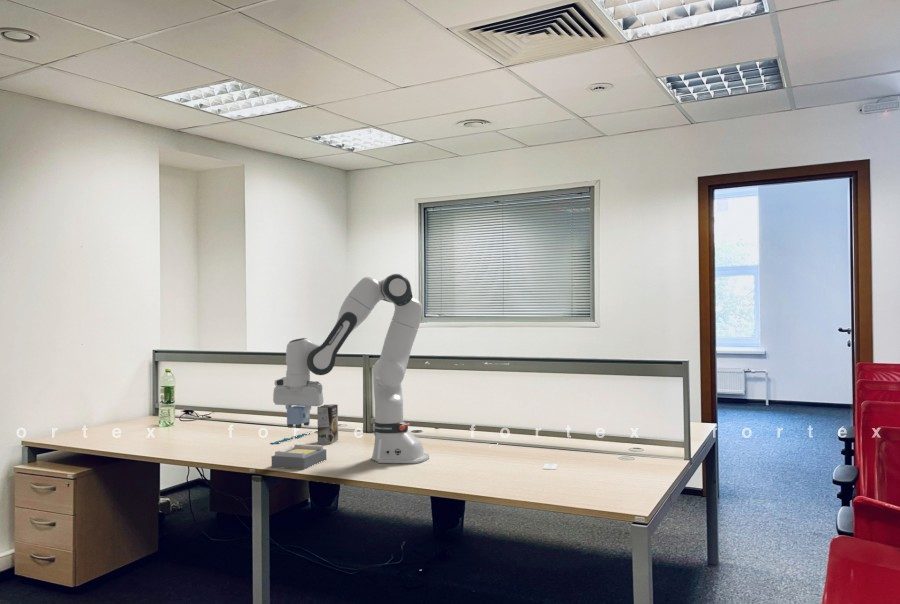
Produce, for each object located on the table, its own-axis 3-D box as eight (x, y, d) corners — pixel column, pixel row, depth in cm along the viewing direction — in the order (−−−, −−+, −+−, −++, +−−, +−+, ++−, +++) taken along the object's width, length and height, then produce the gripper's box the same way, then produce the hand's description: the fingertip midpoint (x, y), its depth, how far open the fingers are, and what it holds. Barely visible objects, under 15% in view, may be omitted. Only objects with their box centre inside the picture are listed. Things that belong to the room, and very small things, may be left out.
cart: (309, 425, 257) (309, 405, 257) (298, 428, 250) (298, 408, 250) (298, 424, 259) (298, 405, 259) (286, 428, 251) (286, 408, 251)
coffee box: (331, 444, 289) (330, 407, 289) (317, 444, 290) (316, 407, 291) (338, 440, 298) (338, 404, 298) (325, 440, 299) (324, 404, 299)
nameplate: (268, 444, 293) (277, 445, 291) (268, 442, 293) (277, 443, 291) (318, 430, 326) (326, 430, 324) (318, 428, 326) (326, 429, 324)
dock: (326, 459, 259) (326, 445, 259) (304, 469, 244) (303, 454, 244) (295, 457, 264) (295, 443, 264) (271, 467, 249) (271, 452, 249)
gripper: (326, 380, 254) (326, 417, 254) (280, 379, 261) (280, 414, 261) (317, 382, 248) (318, 419, 248) (270, 381, 255) (271, 417, 255)
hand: (298, 417), depth 254 cm, fingers closed on cart, 5 cm apart
